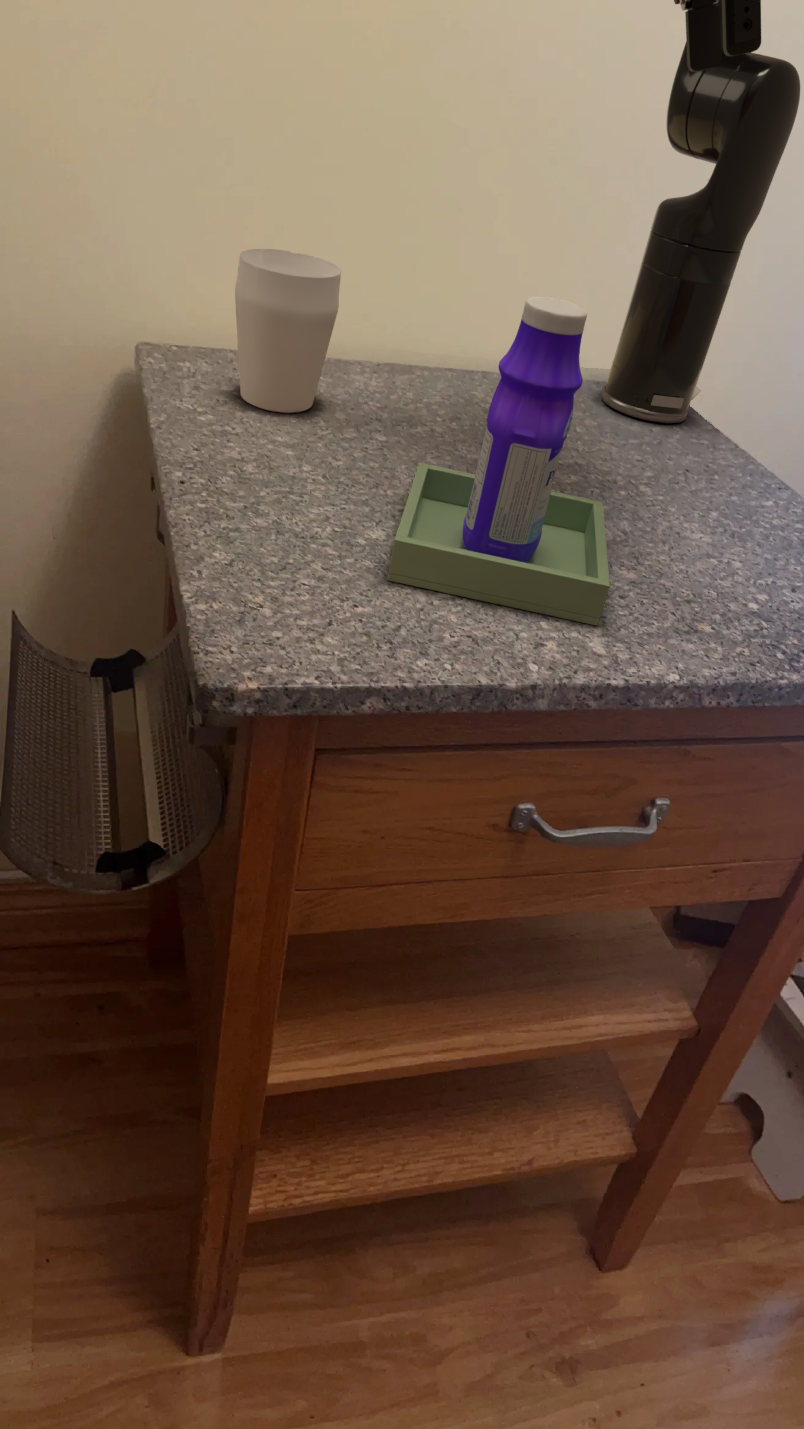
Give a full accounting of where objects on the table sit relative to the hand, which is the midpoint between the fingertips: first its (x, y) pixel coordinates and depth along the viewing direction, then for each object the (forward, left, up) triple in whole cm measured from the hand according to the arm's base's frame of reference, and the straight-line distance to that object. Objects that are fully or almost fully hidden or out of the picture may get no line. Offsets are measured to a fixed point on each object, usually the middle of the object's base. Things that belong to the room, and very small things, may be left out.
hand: (722, 62), depth 70 cm
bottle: (+15, -8, -32) cm, 36 cm away
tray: (+15, -7, -32) cm, 36 cm away
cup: (-8, -29, -32) cm, 45 cm away
